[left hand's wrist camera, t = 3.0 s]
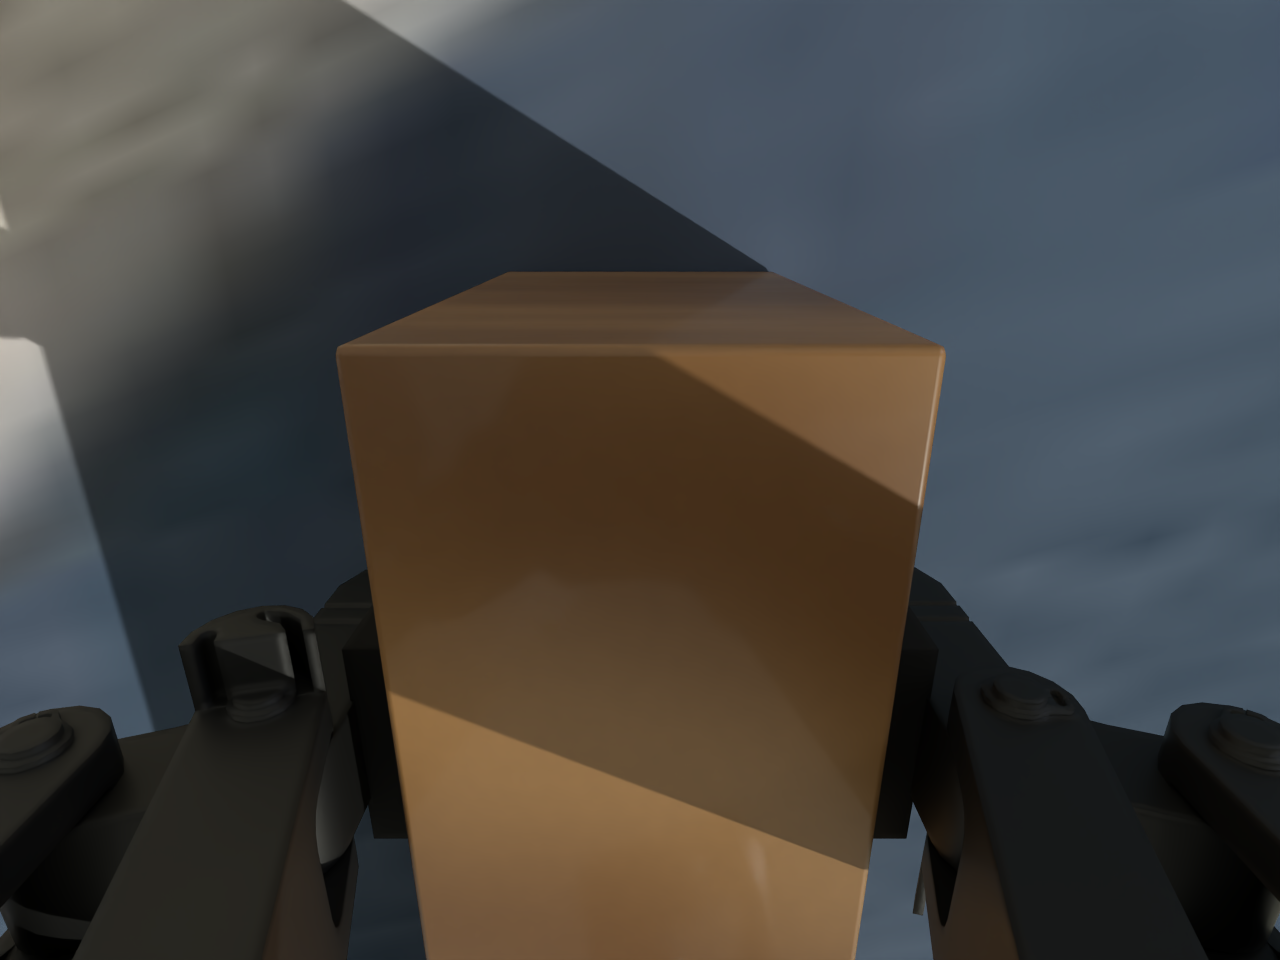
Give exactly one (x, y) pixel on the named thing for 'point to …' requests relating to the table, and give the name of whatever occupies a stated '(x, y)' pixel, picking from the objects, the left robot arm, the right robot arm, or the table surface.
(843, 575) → the post
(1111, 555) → the table surface
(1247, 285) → the table surface
